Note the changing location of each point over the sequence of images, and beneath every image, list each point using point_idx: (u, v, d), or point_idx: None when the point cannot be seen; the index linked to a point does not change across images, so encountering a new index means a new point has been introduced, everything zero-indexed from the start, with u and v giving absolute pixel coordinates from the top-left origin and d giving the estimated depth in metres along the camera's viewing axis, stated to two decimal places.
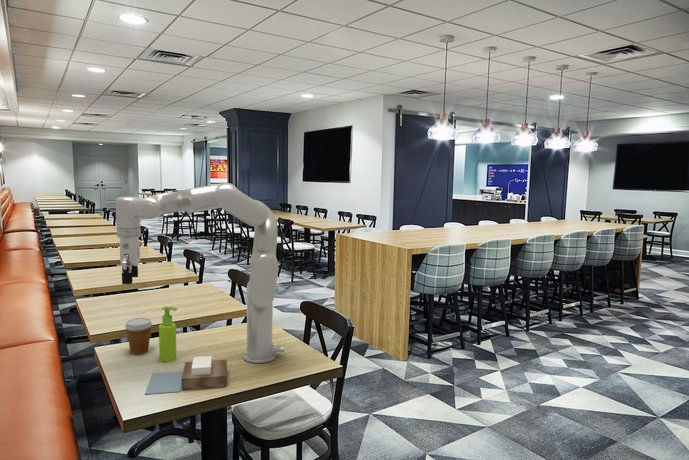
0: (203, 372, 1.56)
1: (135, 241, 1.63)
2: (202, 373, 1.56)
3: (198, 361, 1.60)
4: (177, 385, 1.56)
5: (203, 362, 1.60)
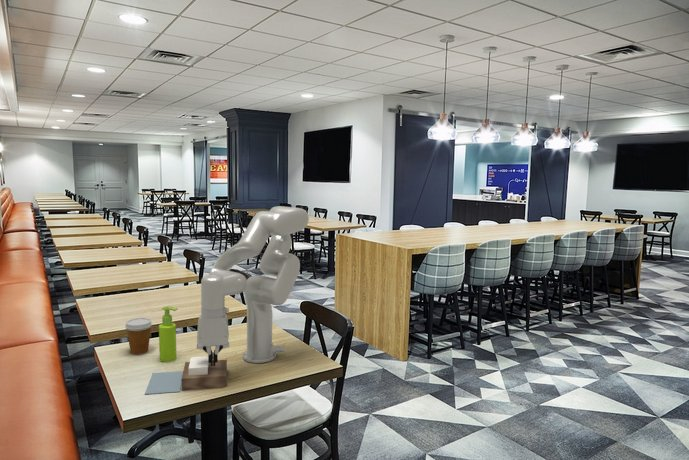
0: (200, 372, 1.56)
1: None
2: (199, 373, 1.56)
3: (195, 361, 1.60)
4: (177, 385, 1.56)
5: (200, 362, 1.59)
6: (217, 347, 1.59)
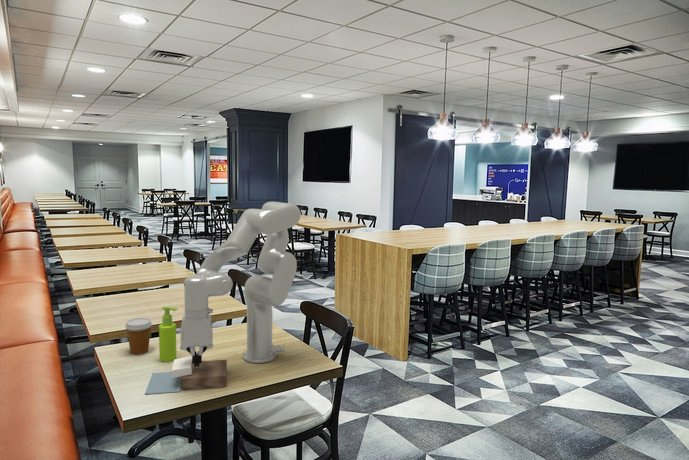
0: (184, 373, 1.55)
1: None
2: (183, 374, 1.55)
3: (178, 363, 1.59)
4: (177, 385, 1.56)
5: (183, 363, 1.58)
6: (201, 348, 1.58)
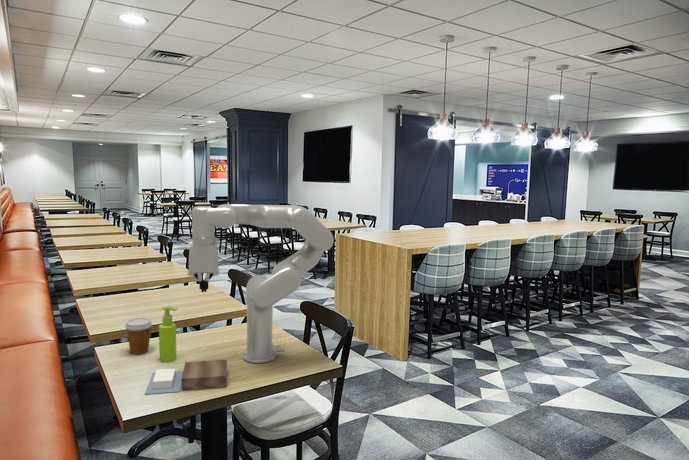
0: (159, 383, 1.53)
1: None
2: (161, 382, 1.53)
3: None
4: (177, 385, 1.56)
5: None
6: (207, 274, 1.69)
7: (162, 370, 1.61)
